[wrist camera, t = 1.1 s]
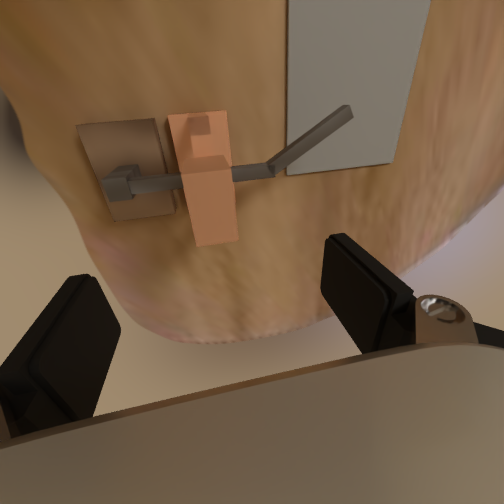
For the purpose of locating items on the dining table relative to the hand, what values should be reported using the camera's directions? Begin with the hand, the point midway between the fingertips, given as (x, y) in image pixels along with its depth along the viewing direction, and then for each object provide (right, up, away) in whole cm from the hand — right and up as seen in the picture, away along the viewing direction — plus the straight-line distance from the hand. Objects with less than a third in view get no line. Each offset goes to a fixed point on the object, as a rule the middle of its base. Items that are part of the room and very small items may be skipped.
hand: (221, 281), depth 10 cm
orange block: (-4, +12, +19) cm, 22 cm away
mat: (+12, +20, +18) cm, 29 cm away
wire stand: (-3, +12, +19) cm, 23 cm away
